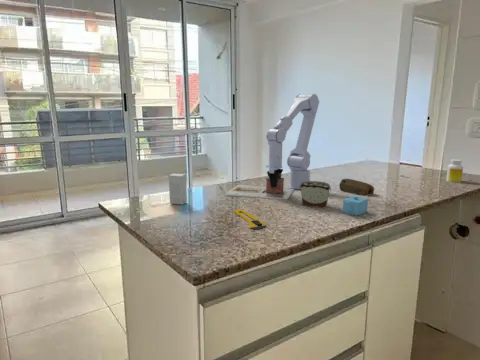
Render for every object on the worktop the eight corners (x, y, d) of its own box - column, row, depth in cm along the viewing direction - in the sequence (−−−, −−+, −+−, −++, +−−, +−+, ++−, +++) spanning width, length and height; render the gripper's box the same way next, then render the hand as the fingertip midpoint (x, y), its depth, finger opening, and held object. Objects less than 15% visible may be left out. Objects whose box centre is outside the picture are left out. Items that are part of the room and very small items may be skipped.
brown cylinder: (336, 193, 169) (337, 179, 167) (344, 190, 174) (345, 176, 172) (367, 199, 158) (368, 184, 157) (375, 196, 163) (376, 182, 162)
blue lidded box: (353, 222, 129) (354, 201, 128) (337, 218, 133) (338, 198, 132) (368, 214, 138) (369, 195, 136) (353, 211, 142) (354, 192, 140)
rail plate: (294, 191, 172) (294, 188, 172) (287, 201, 156) (287, 198, 155) (238, 186, 181) (238, 184, 181) (225, 195, 164) (225, 193, 164)
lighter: (283, 193, 167) (284, 172, 165) (283, 195, 164) (284, 173, 162) (265, 193, 168) (266, 171, 166) (265, 195, 165) (266, 173, 163)
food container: (332, 206, 147) (334, 182, 145) (329, 211, 142) (331, 185, 140) (302, 203, 152) (303, 179, 150) (298, 207, 147) (299, 182, 145)
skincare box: (187, 202, 154) (186, 174, 151) (182, 204, 150) (181, 176, 147) (174, 200, 156) (173, 173, 153) (169, 203, 152) (168, 175, 149)
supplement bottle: (463, 186, 181) (467, 161, 178) (449, 186, 181) (453, 161, 178) (455, 183, 187) (459, 158, 185) (442, 183, 187) (445, 158, 185)
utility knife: (252, 234, 119) (252, 228, 118) (226, 214, 139) (226, 209, 138) (271, 231, 121) (271, 225, 121) (243, 212, 141) (243, 207, 141)
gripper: (270, 153, 170) (270, 181, 173) (262, 158, 157) (262, 189, 160) (285, 154, 168) (284, 183, 171) (278, 159, 155) (278, 190, 158)
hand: (274, 186), depth 165 cm, fingers closed on lighter, 4 cm apart
